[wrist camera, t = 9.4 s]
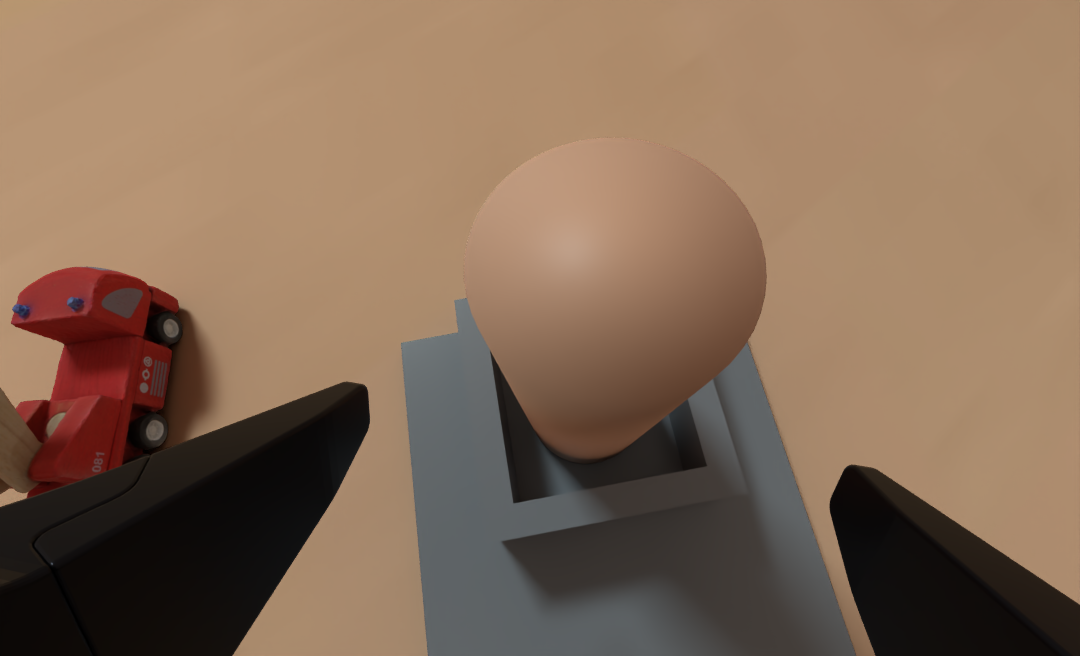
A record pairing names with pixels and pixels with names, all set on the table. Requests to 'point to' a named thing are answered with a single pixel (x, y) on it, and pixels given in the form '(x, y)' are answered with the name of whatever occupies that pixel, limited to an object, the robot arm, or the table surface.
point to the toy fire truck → (90, 378)
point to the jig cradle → (608, 524)
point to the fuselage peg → (611, 288)
